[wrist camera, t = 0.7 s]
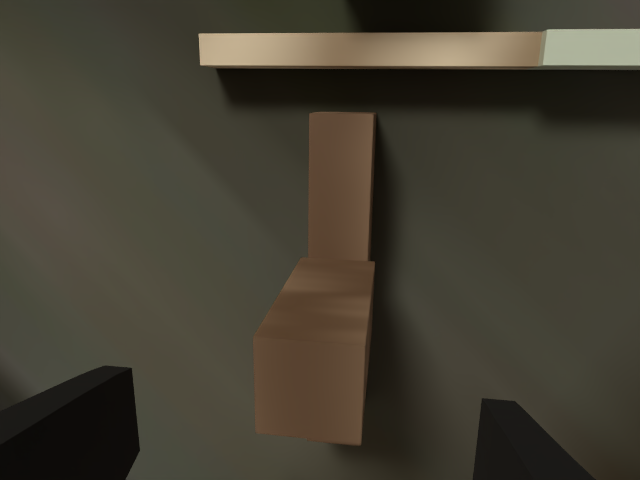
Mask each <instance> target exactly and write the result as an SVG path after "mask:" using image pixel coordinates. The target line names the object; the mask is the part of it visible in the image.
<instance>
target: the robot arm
mask: <svg viewBox="0 0 640 480" xmlns="http://www.w3.org/2000/svg"><path fill="white" fill-rule="evenodd" d="M139 451H140V447H139V437H138V427H137V416H136V406H135V396H134V386H133V376H132V368H127V367H115V366H102V367H99V368H97V369H94V370H91V371H89V372H86V373H84V374H81V375H79V376H77V377H74V378H72V379H70V380H68V381H65V382H63V383H61V384H59V385H57V386H54V387H52V388H50V389H48V390H46V391H44V392H41V393H39V394H37V395H35V396H33V397H31V398H28V399H26V400H24V401H22V402H20V403H17V404H15V405H13V406H11V407H9V408H7V409H4V410H2V411H0V480H125V479H126V477H127V475H128V473H129V471H130V469H131V467H132V465H133V463H134V461H135V459H136V457H137V455H138V453H139ZM473 480H596V479H594V478H593V477H592V476H591V475H590V474H589V473H588V472H587V471H586V470H585V469H584V468H583V467H582V466H580V465H579V464H578V463H577V462H576V461H575V460H574V459H573V458H572V457H571V456H570V455H569V454H568V453H567V452H566V451H565V450H564V449H563V448H562V447H561V446H560V445H559V444H558V443H557V442H556V441H555V440H554V439H553V438H552V437H551V436H550V435H549V434H548V433H547V432H546V431H545V430H544V429H543V428H542V427H541V426H540V425H539V424H538V423H537V422H536V421H535V420H534V419H533V418H532V417H531V416H530V415H529V414H528V413H527V412H526V411H525V410H524V409H523V408H522V407H521V406H520V405H518V404H517V403H516V402H515V401H507V400H495V399H484V398H482V403H481V412H480V421H479V430H478V438H477V447H476V456H475V464H474V473H473Z"/></svg>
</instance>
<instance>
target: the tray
mask: <svg viewBox="0 0 640 480" xmlns="http://www.w3.org/2000/svg"><path fill="white" fill-rule="evenodd" d="M526 70H640V29H558V30H545V31H543V32H542V39H541V47H540V55H539V63H538V67H534V68H530V69H526Z"/></svg>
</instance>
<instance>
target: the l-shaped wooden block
mask: <svg viewBox="0 0 640 480" xmlns="http://www.w3.org/2000/svg"><path fill="white" fill-rule="evenodd" d="M375 137H376V113H369V112H315V113H309V234H308V258H303V257H301V258H300V260H299V262H298V263H297V265H296V267H295V268H294V270H293V272H292V273H291V275H290V277H289V278H288V280H287V282H286V283H285V285H284V287H283V288H282V290H281V292H280V293H279V295H278V297H277V298H276V300H275V302H274V303H273V305H272V307H271V308H270V310H269V311H268V313H267V315H266V316H265V318H264V320H263V321H262V323H261V325H260V326H259V328H258V330H257V331H256V333H255V335H254V336H253V352H254V390H255V429H256V433H260V434H270V435H279V436H289V437H298V438H307V441H316V442H325V443H335V444H344V445H354V446H360V444H361V440H362V429H363V419H364V408H365V398H366V387H367V377H368V366H369V356H370V345H371V335H372V318H373V296H374V273H375V261H370V256H371V232H372V208H373V184H374V160H375Z"/></svg>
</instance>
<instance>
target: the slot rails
mask: <svg viewBox="0 0 640 480" xmlns="http://www.w3.org/2000/svg"><path fill="white" fill-rule="evenodd" d="M541 39H542V32H430V33H240V34H199V48H200V65H202V66H207V67H212V68H270V69H510V70H526V69H530V68H534V67H538V63H539V55H540V47H541Z"/></svg>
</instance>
